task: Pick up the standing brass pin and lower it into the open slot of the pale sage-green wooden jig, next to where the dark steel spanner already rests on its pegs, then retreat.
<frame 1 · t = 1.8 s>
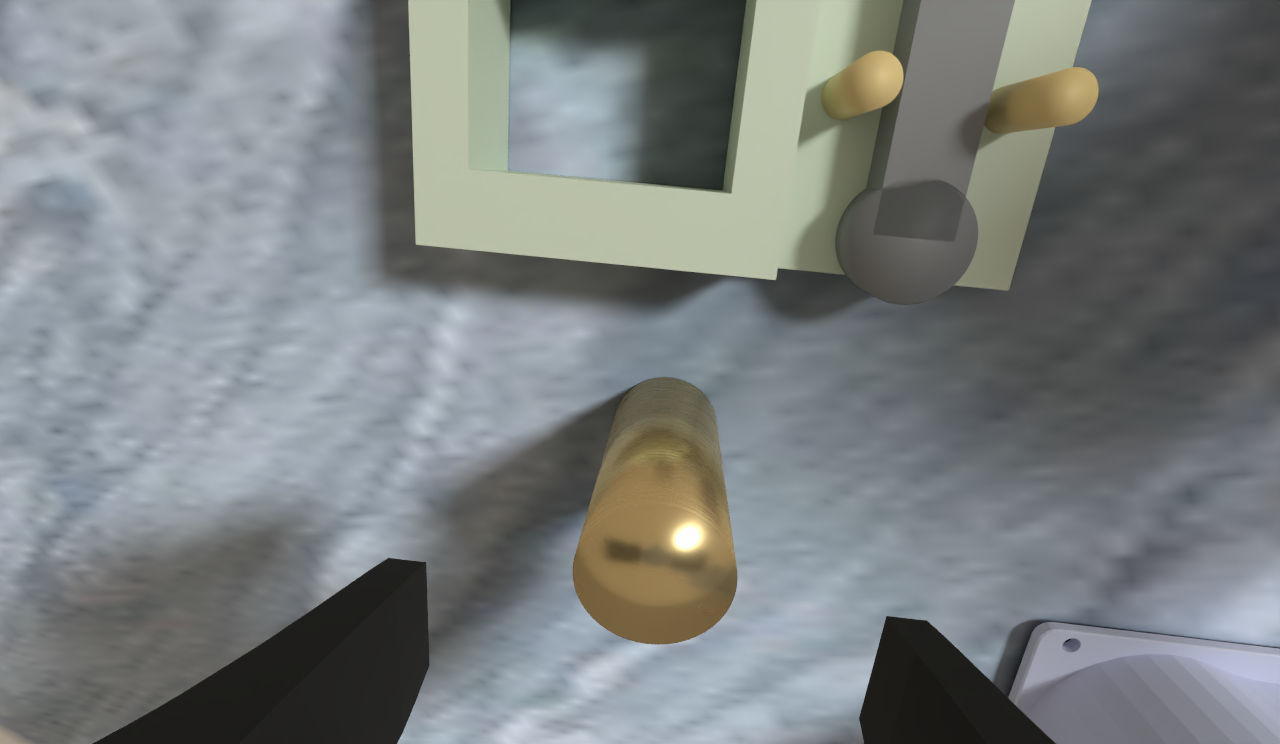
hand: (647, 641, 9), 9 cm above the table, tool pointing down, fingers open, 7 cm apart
slot jig: (742, 93, 15), on the table
brass pin: (665, 425, 18), on the table
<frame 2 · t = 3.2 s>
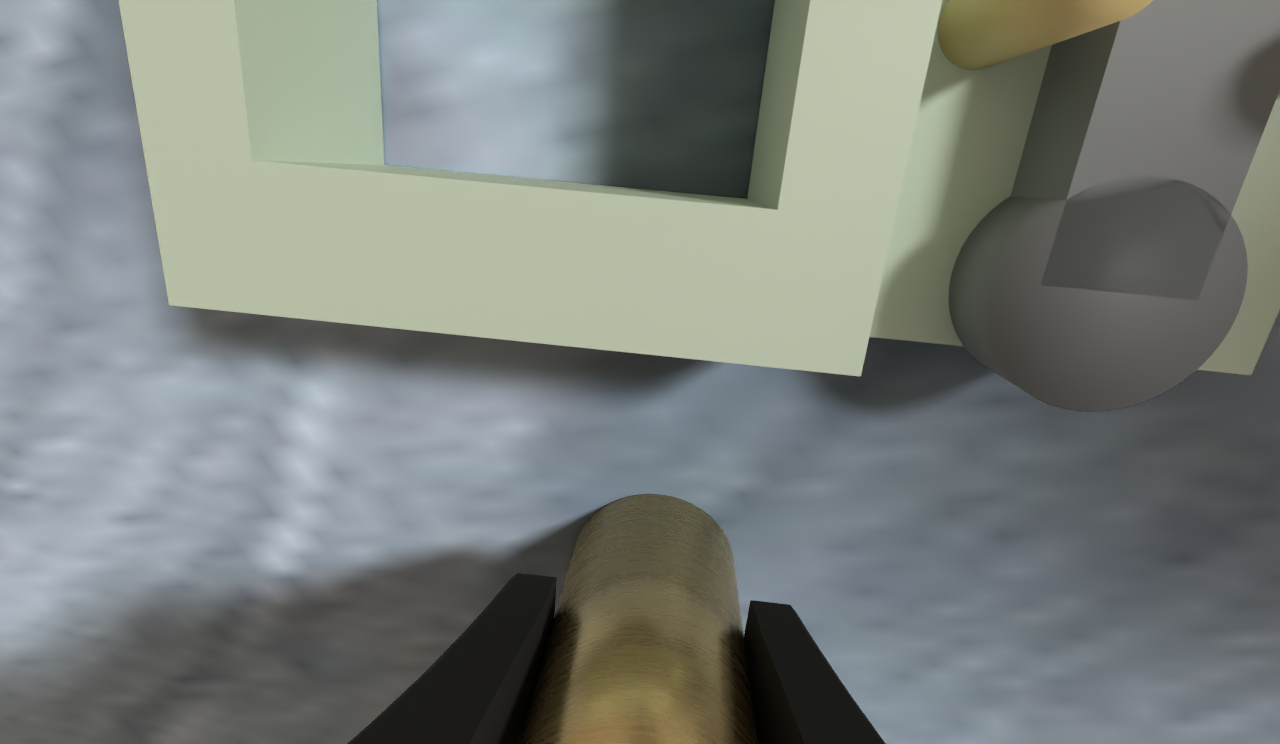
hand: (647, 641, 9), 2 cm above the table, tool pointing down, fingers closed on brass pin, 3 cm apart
slot jig: (785, 28, 8), on the table
brass pin: (652, 565, 11), on the table, touching gripper
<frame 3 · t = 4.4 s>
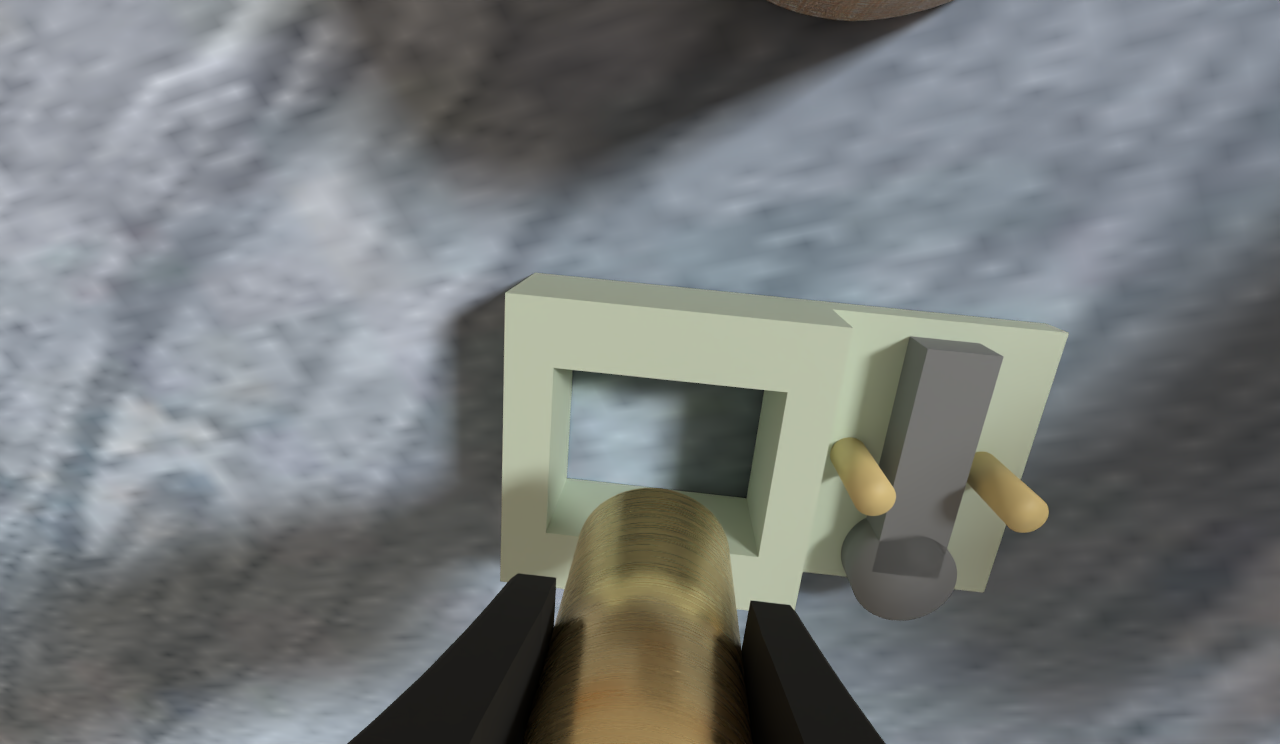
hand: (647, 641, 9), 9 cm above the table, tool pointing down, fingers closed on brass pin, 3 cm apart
slot jig: (764, 430, 18), on the table
brass pin: (652, 554, 12), point 6 cm above the table, touching gripper
when the fingers open (4 cm above the table, at t = 5.7 s): brass pin drops 1 cm, resting in slot jig.
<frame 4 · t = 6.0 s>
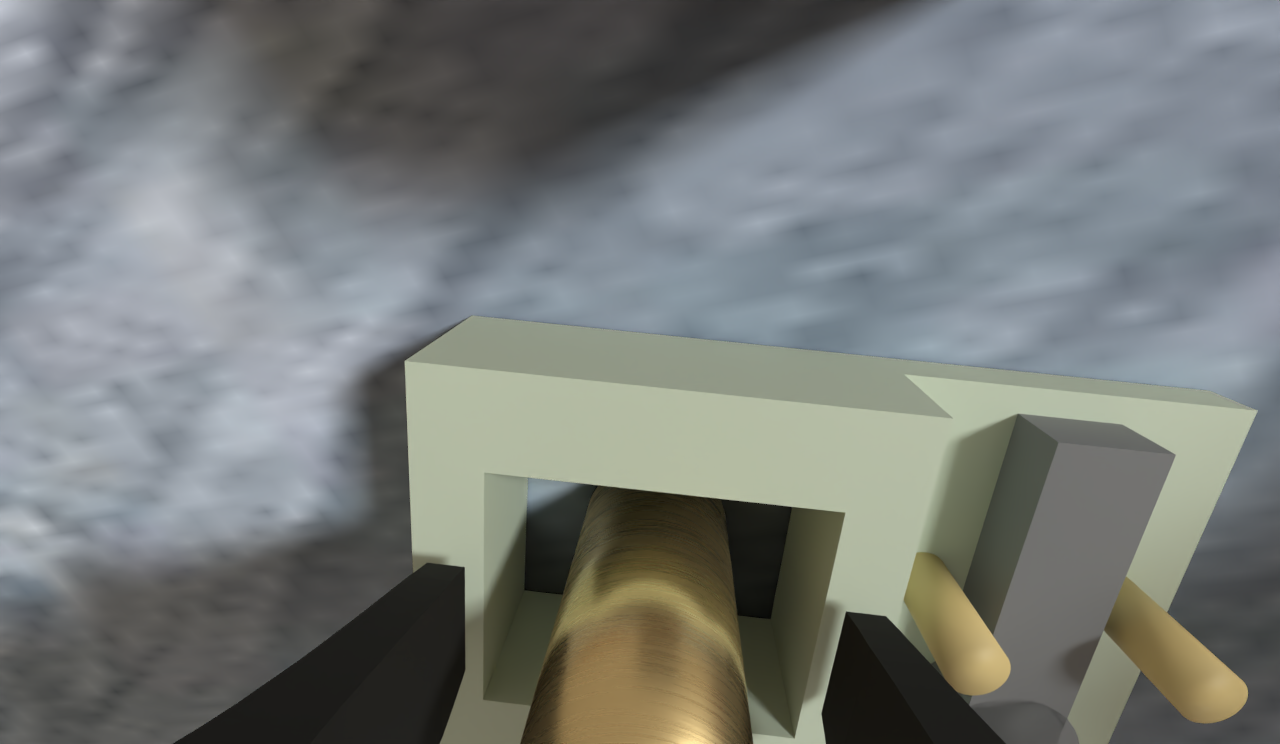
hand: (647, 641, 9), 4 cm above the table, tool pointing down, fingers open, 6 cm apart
slot jig: (796, 532, 13), on the table
brass pin: (655, 523, 13), resting in slot jig
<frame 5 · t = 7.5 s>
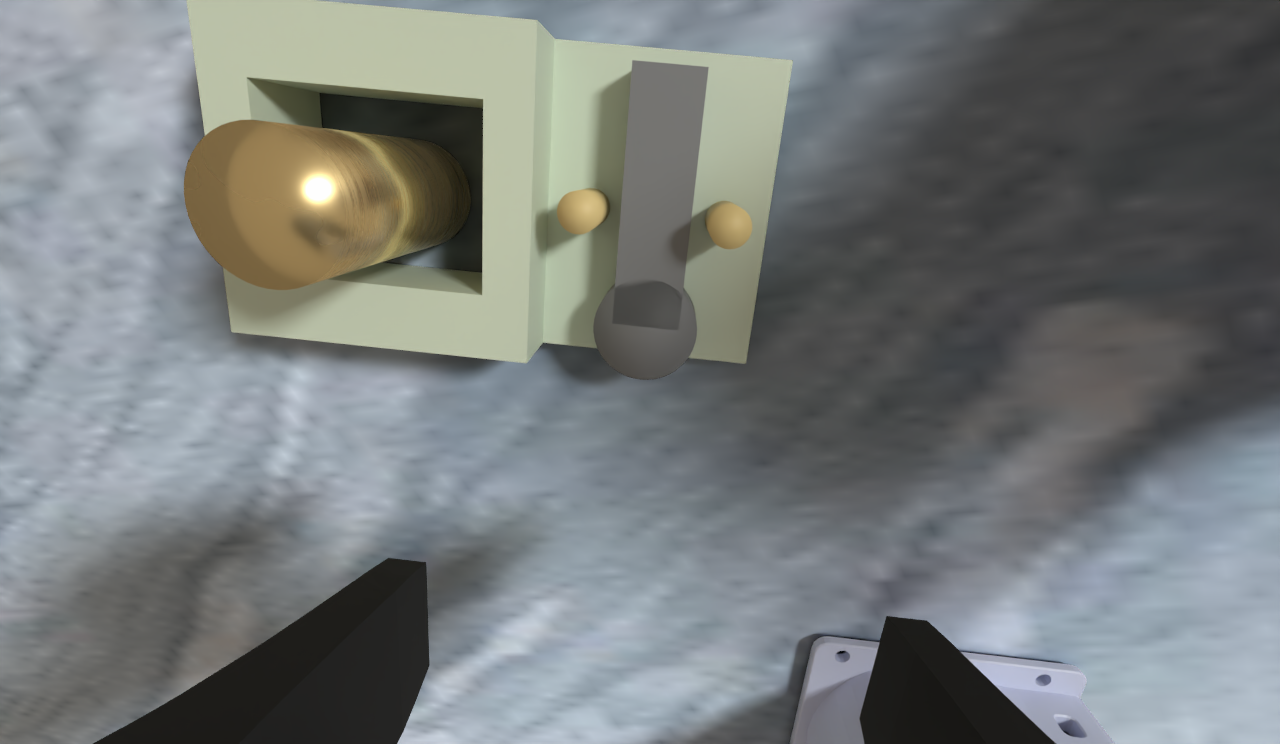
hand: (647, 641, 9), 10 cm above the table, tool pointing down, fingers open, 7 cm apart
slot jig: (521, 197, 17), on the table
brass pin: (420, 194, 18), resting in slot jig
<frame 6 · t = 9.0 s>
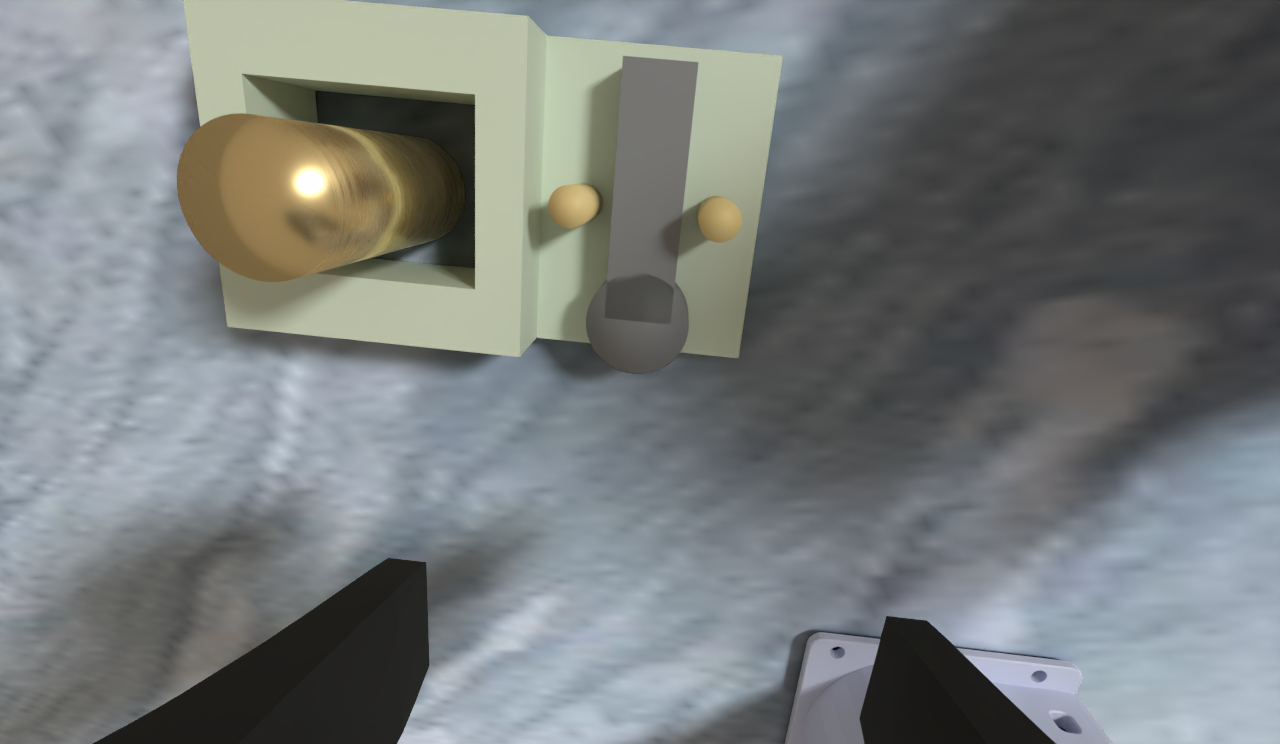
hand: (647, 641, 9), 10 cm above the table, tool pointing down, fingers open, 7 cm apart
slot jig: (515, 193, 18), on the table
brass pin: (415, 190, 18), resting in slot jig
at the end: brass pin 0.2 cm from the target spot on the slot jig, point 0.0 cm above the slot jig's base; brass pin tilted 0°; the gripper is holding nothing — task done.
